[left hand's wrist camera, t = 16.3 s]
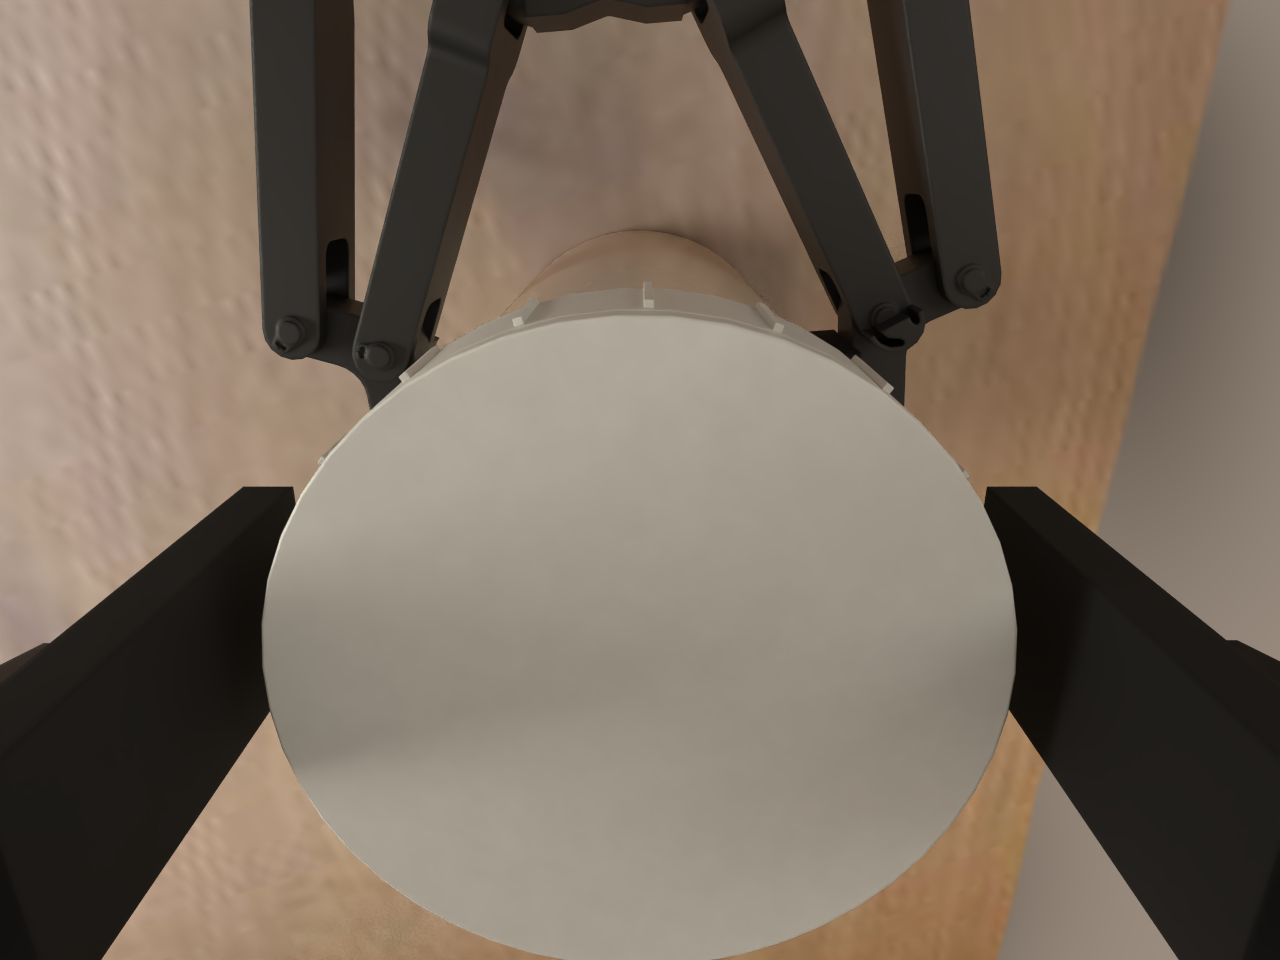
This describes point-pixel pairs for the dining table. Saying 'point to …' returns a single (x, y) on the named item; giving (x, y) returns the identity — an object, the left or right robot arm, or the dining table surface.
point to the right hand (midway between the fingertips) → (653, 605)
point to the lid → (639, 631)
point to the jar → (639, 269)
